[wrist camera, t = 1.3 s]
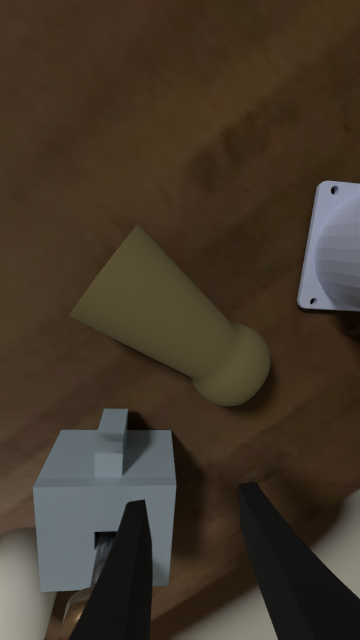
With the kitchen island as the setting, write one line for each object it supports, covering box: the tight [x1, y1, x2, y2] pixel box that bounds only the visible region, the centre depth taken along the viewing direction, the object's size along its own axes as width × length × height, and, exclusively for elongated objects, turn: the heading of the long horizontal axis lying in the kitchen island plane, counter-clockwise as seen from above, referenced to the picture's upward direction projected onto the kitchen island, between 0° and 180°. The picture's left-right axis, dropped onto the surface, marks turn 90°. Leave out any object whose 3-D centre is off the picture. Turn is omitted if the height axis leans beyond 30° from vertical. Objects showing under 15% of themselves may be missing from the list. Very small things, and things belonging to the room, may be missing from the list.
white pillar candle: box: [0, 527, 57, 640], centre depth 21 cm, size 6×6×6 cm
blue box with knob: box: [33, 409, 176, 592], centre depth 19 cm, size 8×10×5 cm
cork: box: [69, 225, 271, 406], centre depth 17 cm, size 6×6×11 cm
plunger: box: [58, 531, 115, 640], centre depth 16 cm, size 3×3×6 cm
